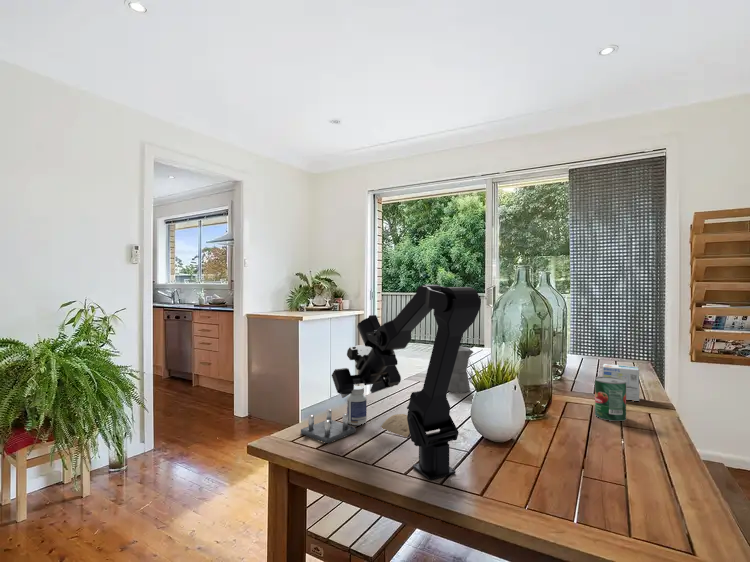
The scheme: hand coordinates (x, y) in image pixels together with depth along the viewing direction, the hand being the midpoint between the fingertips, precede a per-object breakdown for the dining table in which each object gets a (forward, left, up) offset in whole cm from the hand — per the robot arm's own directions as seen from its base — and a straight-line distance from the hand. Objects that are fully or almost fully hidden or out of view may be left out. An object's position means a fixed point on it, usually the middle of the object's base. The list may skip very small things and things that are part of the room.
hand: (357, 394), depth 113 cm
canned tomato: (-30, -67, -8) cm, 74 cm away
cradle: (-4, +10, -8) cm, 13 cm away
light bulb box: (-19, -90, -8) cm, 92 cm away
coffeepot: (+16, -47, -8) cm, 50 cm away
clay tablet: (-9, -11, -9) cm, 17 cm away
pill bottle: (0, 0, -8) cm, 8 cm away
